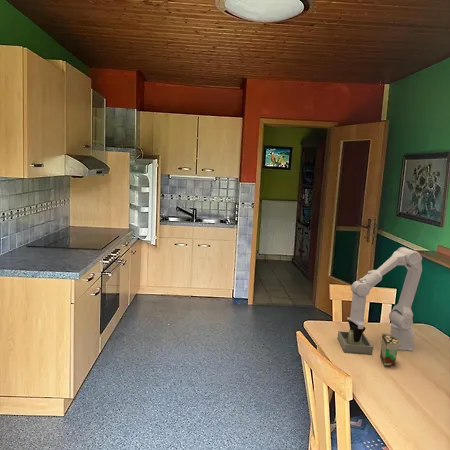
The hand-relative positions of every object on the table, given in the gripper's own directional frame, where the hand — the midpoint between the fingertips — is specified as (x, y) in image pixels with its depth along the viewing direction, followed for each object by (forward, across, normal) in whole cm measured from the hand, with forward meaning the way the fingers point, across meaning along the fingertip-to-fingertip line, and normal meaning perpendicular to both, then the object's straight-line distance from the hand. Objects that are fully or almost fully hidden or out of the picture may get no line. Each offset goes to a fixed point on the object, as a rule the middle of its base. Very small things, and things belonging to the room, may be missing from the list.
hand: (354, 338), depth 188 cm
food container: (+4, +14, +11) cm, 18 cm away
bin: (+3, 0, 0) cm, 3 cm away
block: (+3, 0, 0) cm, 3 cm away
